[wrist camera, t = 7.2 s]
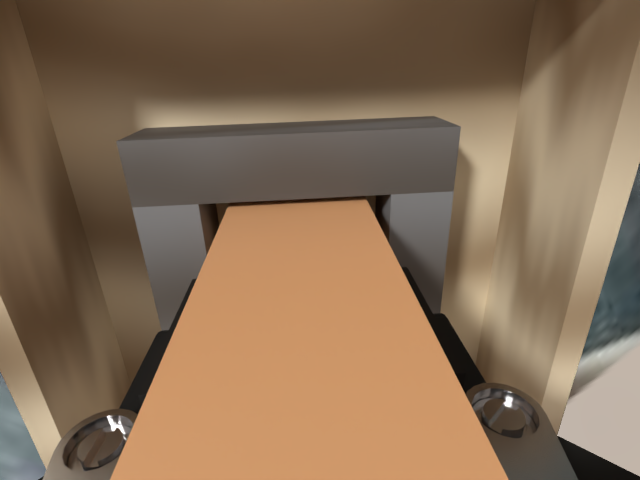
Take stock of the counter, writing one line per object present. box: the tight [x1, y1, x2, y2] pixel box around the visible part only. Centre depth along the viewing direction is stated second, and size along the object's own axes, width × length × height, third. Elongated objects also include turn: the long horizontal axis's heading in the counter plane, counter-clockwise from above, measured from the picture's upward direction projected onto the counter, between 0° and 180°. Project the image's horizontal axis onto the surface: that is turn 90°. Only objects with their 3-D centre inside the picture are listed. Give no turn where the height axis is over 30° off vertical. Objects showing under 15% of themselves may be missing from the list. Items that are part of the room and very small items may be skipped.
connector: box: [110, 196, 509, 480], centre depth 8 cm, size 4×4×11 cm
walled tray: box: [0, 0, 640, 469], centre depth 13 cm, size 18×16×5 cm
